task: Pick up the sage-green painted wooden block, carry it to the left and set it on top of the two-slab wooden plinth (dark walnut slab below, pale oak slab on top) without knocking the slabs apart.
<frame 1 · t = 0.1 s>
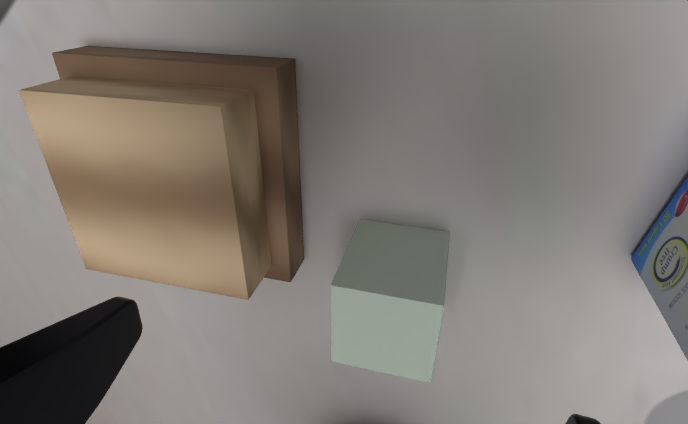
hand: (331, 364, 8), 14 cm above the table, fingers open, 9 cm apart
oak slab: (178, 176, 23), point 2 cm above the table
sage block: (400, 261, 25), on the table
walnut slab: (209, 155, 25), on the table
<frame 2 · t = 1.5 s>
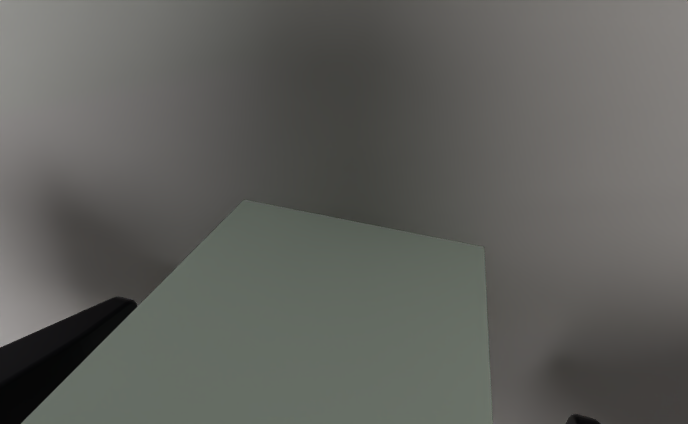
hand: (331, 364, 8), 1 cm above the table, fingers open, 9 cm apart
sage block: (348, 311, 10), on the table
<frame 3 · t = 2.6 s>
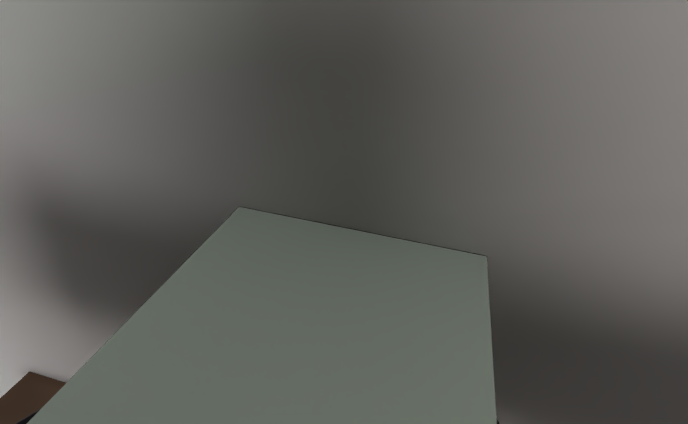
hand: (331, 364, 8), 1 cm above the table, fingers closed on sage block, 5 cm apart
sage block: (346, 322, 10), on the table, touching gripper
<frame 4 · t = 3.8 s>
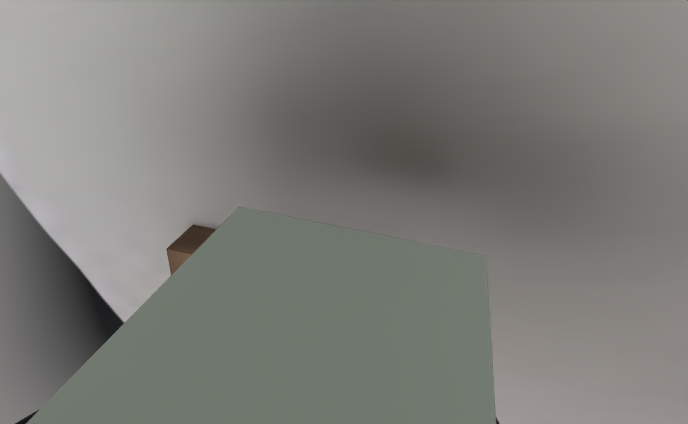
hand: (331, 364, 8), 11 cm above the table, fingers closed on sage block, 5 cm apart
sage block: (346, 321, 10), point 10 cm above the table, touching gripper
walnut slab: (298, 321, 26), on the table, touching oak slab
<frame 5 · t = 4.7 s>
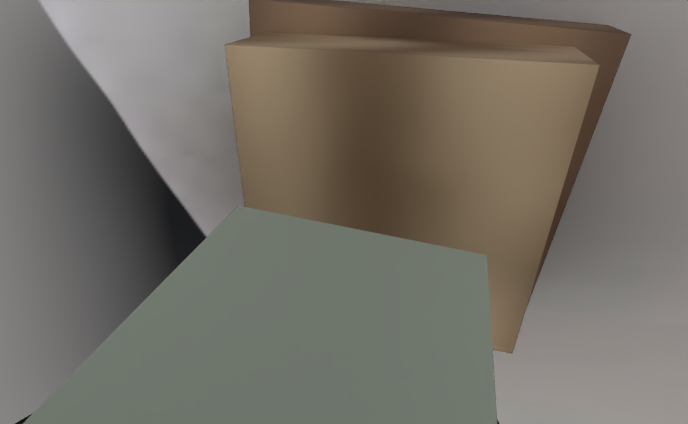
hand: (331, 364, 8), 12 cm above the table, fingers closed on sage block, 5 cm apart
oak slab: (397, 177, 16), point 2 cm above the table, touching walnut slab
sage block: (346, 321, 9), point 10 cm above the table, touching gripper
walnut slab: (408, 155, 19), on the table, touching oak slab
when the fingers open (8 cm above the table, at t = 6.0 s): sage block drops 2 cm, resting on oak slab.
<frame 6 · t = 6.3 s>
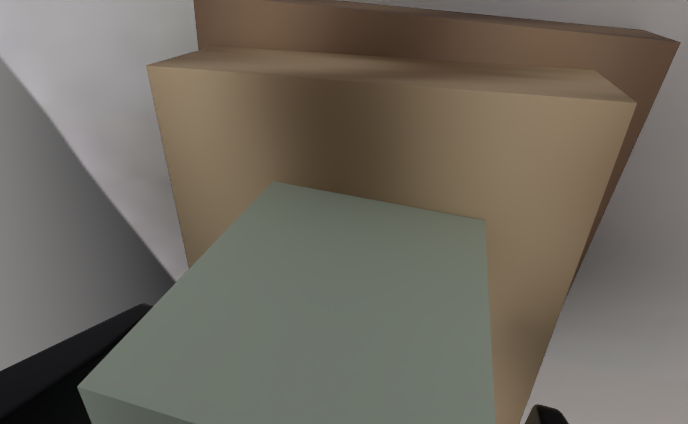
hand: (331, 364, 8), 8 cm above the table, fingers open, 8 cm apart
oak slab: (375, 220, 13), point 2 cm above the table, touching sage block
sage block: (363, 283, 11), point 5 cm above the table, touching oak slab
walnut slab: (396, 181, 16), on the table
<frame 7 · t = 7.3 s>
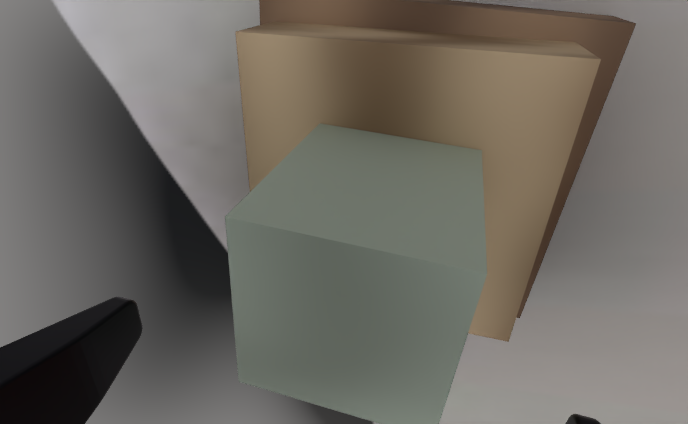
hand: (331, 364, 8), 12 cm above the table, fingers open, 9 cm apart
oak slab: (399, 168, 17), point 2 cm above the table, touching walnut slab
sage block: (387, 206, 14), point 5 cm above the table
walnut slab: (413, 145, 19), on the table, touching oak slab
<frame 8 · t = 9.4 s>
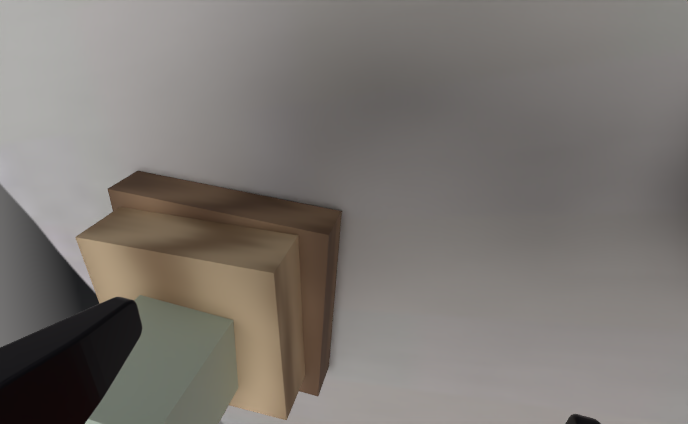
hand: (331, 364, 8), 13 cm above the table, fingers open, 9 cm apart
oak slab: (218, 296, 24), point 2 cm above the table, touching sage block, walnut slab
sage block: (191, 343, 21), point 5 cm above the table, touching oak slab
walnut slab: (245, 269, 26), on the table, touching oak slab
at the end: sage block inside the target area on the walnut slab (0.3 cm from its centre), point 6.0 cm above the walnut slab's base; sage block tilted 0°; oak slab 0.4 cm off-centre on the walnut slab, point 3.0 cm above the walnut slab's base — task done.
